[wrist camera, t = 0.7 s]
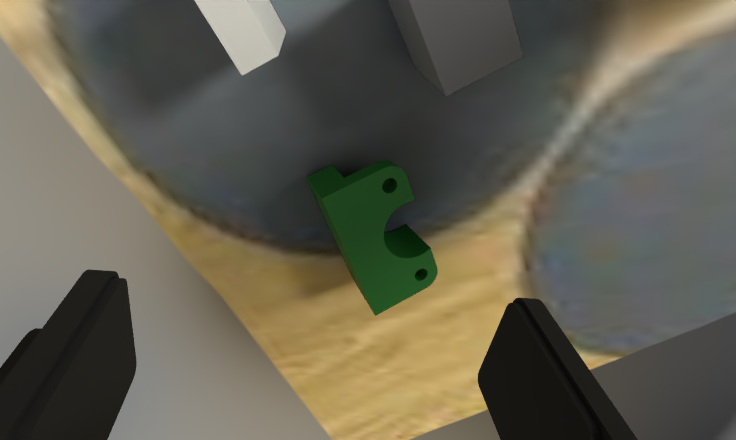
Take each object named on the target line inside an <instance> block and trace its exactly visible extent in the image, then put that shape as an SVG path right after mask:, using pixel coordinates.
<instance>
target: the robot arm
mask: <svg viewBox="0 0 736 440" xmlns="http://www.w3.org/2000/svg"><path fill="white" fill-rule="evenodd" d="M128 296H129V295H128V287H127V281H126V279H123V278H119V276H118V274H117V272H115V271H101V270H86V271H85V272H84V273H83V274H82V275H81V277H80V278H79V279H78V281H77V282H76V283H75V285H74V286H73V287H72V289H71V290H70V292H69V293H68V294H67V296H66V297H65V298H64V300H63V301H62V302H61V304H60V305H59V306H58V308H57V309H56V311H55V312H54V313H53V315H52V316H51V317H50V319H49V320H48V321H47V323H46V324H45V325H44V327H43V328H42V329H33V330H32V331H30V332H29V333H28V334H27V335H26V336H25V337H24V338H23V339H22V340H21V342H20V343H19V344H18V346H17V347H16V348H15V350H14V351H13V352H12V353H11V355H10V356H9V358H8V359H7V360H6V361H5V363H4V364H3V365H2V367H1V368H0V440H107V439H108V437H109V434H110V432H111V430H112V427H113V425H114V423H115V420H116V418H117V416H118V413H119V411H120V409H121V406H122V404H123V402H124V399H125V397H126V394H127V392H128V390H129V388H130V385H131V383H132V381H133V378H134V375H135V371H136V354H135V346H134V337H133V329H132V321H131V312H130V304H129V297H128ZM478 384H479V387H480V390H481V392H482V395H483V397H484V400H485V402H486V405H487V407H488V409H489V412H490V414H491V417H492V419H493V422H494V424H495V426H496V429H497V432H498V434H499V436H500V439H501V440H637V438H636V437H635V435H634V434H633V432H632V431H631V429H630V428H629V426H628V425H627V424H626V422H625V421H624V419H623V418H622V416H621V415H620V413H619V412H618V411H617V409H616V408H615V406H614V405H613V403H612V402H611V401H610V399H609V398H608V396H607V395H606V393H605V392H604V390H603V389H602V388H601V386H600V385H599V383H598V382H597V380H596V379H595V378H594V376H593V375H592V373H591V372H590V370H589V369H588V367H587V366H586V364H585V363H584V362H583V360H582V359H581V357H580V356H579V354H578V353H577V352H576V350H575V349H574V347H573V346H572V344H571V343H570V341H569V340H568V339H567V337H566V336H565V334H564V333H563V331H562V330H561V328H560V327H559V326H558V324H557V323H556V321H555V320H554V318H553V317H552V315H551V314H550V313H549V311H548V310H547V308H546V307H545V305H544V304H543V303H542V302H541V301H540V300H538V299H529V298H516V299H515V300H514V301H513V303H509V304H508V306H507V307H506V310H505V312H504V314H503V317H502V319H501V321H500V324H499V326H498V328H497V331H496V333H495V335H494V338H493V340H492V342H491V345H490V347H489V349H488V352H487V354H486V356H485V358H484V361H483V363H482V365H481V368H480V370H479V373H478Z"/></svg>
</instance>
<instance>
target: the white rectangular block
mask: <svg viewBox="0 0 736 440" xmlns="http://www.w3.org/2000/svg"><path fill="white" fill-rule="evenodd" d="M195 2H196V4H197V5H198V7H199V8H200V10H201V12H202V13H203V15H204V16H205V18H206V19H207V21H208V23H209V24H210V26H211V27H212V29H213V31H214V32H215V34H216V35H217V37H218V38H219V40H220V42H221V43H222V45H223V46H224V48H225V50H226V51H227V53H228V54H229V56H230V58H231V59H232V61H233V62H234V64H235V65H236V67H237V69H238V70H239V72H240V73H241V75H244V74H246V73H248V72H250V71H251V70H253V69H255V68H257V67H259V66H261V65H262V64H264V63H266V62H268V61H270V60H271V59H273V58H275V57H277V56H278V55H279V52H280V49H281V46H282V43H283V40H284V37H285V34H286V30H285V28H284V26H283V25H282V23H281V21H280V19H279V17H278V15H277V14H276V12H275V10H274V8H273V6H272V4H271V3H270V1H269V0H195Z"/></svg>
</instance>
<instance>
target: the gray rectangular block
mask: <svg viewBox="0 0 736 440" xmlns="http://www.w3.org/2000/svg"><path fill="white" fill-rule="evenodd" d="M387 1H388V3H389V5H390V8H391V10H392V13H393V15H394V18H395V20H396V23H397V25H398V27H399V30H400V32H401V35H402V37H403V40H404V42H405V45H406V47H407V49H408V52H409V54H410V57H411V59H412V62H413V64H414V67H415V68H416V69H417V70H418V71H419V72H420V73H421V74H422V75H423V76H425V77H426V78H427V79H428V80H429V81H430V82H431V83H432V84H433V85H434V86H435V87H436V88H437V89H438V90H440V91H441V92H442V93H443V94H444V95H445V96H448V95H450V94H452V93H454V92H456V91H458V90H460V89H462V88H464V87H466V86H468V85H470V84H472V83H473V82H475V81H477V80H479V79H481V78H483V77H485V76H487V75H489V74H491V73H493V72H495V71H497V70H499V69H501V68H503V67H505V66H507V65H509V64H511V63H513V62H515V61H517V60H519V59H521V58H523V57H524V56H523V53H522V49H521V45H520V42H519V38H518V34H517V30H516V27H515V23H514V19H513V16H512V12H511V8H510V4H509V1H508V0H387Z"/></svg>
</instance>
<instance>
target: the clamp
mask: <svg viewBox="0 0 736 440" xmlns="http://www.w3.org/2000/svg"><path fill="white" fill-rule="evenodd" d="M306 178H307V181H308V183H309V186H310V188H311V190H312V192H313V194H314V196H315V199H316V201H317V203H318V205H319V207H320V209H321V211H322V214H323V216H324V218H325V220H326V222H327V224H328V226H329V229H330V231H331V233H332V235H333V237H334V239H335V241H336V244H337V246H338V248H339V250H340V252H341V254H342V256H343V259H344V261H345V263H346V265H347V267H348V269H349V271H350V273H351V275H352V277H353V279H354V281H355V283H356V285H357V286H358V288H359V290H360V291H361V293H362V295H363V296H364V298H365V300H366V301H367V303H368V304H369V306H370V308H371V309H372V311H373V313H374V314H375V316H376V315H378V314H379V313H381V312H383V311H385V310H387V309H389V308H390V307H392V306H394V305H396V304H398V303H400V302H401V301H403V300H405V299H407V298H409V297H411V296H412V295H414V294H416V293H418V292H420V291H421V290H423V289H425V288H427V287H428V286H430V285H431V284H432V283H433V281H434V280H435V278H436V276H437V266H436V263H435V260H434V257H433V254H432V251H431V248H430V247H429V246H428V245H427V244H426V243H425V242H424V241H423V240H422V239H421V238H420V237H419V236H418V235H417V234H416V233H415V232H414V231H413V230H412V229H411V228H410V227H409V226H408V225H406V224H405V225H404V226H402V227H400V228H399V229H397V230H394V231H391V232H384V229H385V226H386V223H387V221H388V219H389V217H390V216H391V214H392V213H393V212H394V211H395V210H396V209H397V208H399V207H400V206H401V205H403V204H405V203H407V202H410V201H414V200H415V199H414V196H413V193H412V190H411V186H410V183H409V180H408V177H407V175H406V173H405V172H404V171H403V170H402V169H401V168H400V167H398V166H397V165H396V164H394V163H393V162H391V161H387V160H382V161H378V162H376V163H374V164H371V165H369V166H367V167H365V168H363V169H361V170H359V171H357V172H355V173H353V174H351V175H349V176H347V177H345V178H344V177H343V176H342V175H341V174H340V173H339V172H338V171H337V170H336V169H335V168H334V167H333V166H332V165H330V166H328V167H326V168H324V169H322V170H320V171H318V172H316V173H314V174H312V175H310V176H308V177H306Z"/></svg>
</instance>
